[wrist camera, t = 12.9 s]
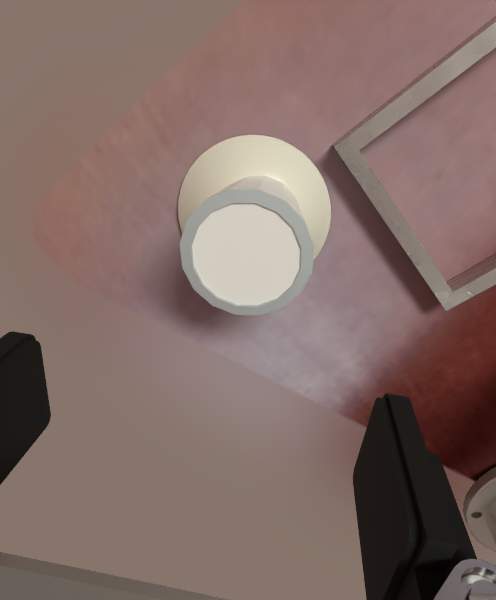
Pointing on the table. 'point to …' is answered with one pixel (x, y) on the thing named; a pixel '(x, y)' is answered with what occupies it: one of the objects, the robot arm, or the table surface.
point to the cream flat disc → (259, 162)
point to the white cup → (248, 247)
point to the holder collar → (348, 149)
